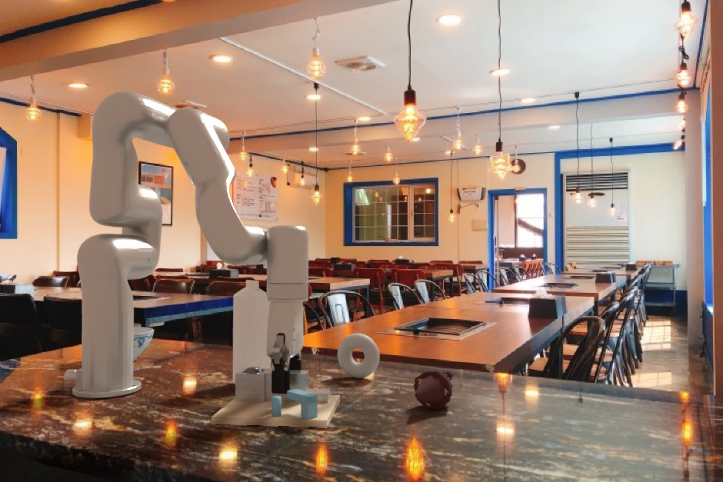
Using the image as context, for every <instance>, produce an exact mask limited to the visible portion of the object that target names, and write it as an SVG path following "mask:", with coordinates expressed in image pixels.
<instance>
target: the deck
mask: <svg viewBox="0 0 723 482" xmlns="http://www.w3.org/2000/svg"><path fill="white" fill-rule="evenodd" d="M340 402H341V395H340V394H339V395H338V394H330V400H329V402H328V403H321V402H317V417H315V418H311V419H305V418H302V417H301V402H284V401H281V416H279V417H272V416H271V415H272V401H265V402H264V403H260V402H235V397H234V398H233V399H232V400H230V401H229V402H228V403H226V404H225V405H224V406H223V407H222V408H220V409H219V410H218V411H217V412H216V413H214V414H213V415H211V419H210V421H211V425H216V424H226V425H225V426H247V425H260V426H259V427H278V426H289V428H309V427H318V428H317V429H327V428H328V427H329V424H330V422H331V421H332V419H333V416H334V414H335V412H336V410H337V408H338V406H339V405H340ZM227 424H228V425H227ZM229 424H230V425H229ZM261 425H262V426H261ZM327 426H328V427H327Z"/></svg>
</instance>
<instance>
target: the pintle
mask: <svg viewBox="0 0 723 482" xmlns="http://www.w3.org/2000/svg"><path fill="white" fill-rule="evenodd" d="M247 373H260V367H248V368H247Z"/></svg>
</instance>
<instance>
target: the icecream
mask: <svg viewBox="0 0 723 482" xmlns="http://www.w3.org/2000/svg"><path fill="white" fill-rule="evenodd" d="M453 377H454V372H452V371H451V370H445V371H443V372H440V371H437V370H425V371H424V372H422V373H421V374H420V375H418V376H416V377H415V378H414V383H413V389H414V398H415V399H416V400H417V402H418V403H420V404H421V405H422V406H423V407H424V408H426V409H430V410H438V411H439V410H442V409H443V408H444V407H445V406H446V405H448V403H450V401H451V397H452V396H453V383H452V382H451V381H452V379H453Z"/></svg>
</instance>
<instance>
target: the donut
mask: <svg viewBox="0 0 723 482" xmlns="http://www.w3.org/2000/svg"><path fill="white" fill-rule="evenodd" d="M337 347H338V349H337V354H336V357H337V361H338V364H339V366H340V368H341V369H342V370H343V372H344V373H345V374H346V375H348V376H349V377H351V378H355V379H363V378H364V379H365V378H368V377H369V376H371V375H372V374H374V372H375V371H376V370H377V369H378V366H379V364H380V357H381V356H380V355H381V354H380V349H379V347H378V346H377V343H376V342H375V341H374V340H373V338H371V337H370V336H369V335H366V334H364V333H360V332H359V333H351V334H349V335H348V336H347V335H346V336H345V337H344V338H343V339H342V341H340V343H339V346H337ZM355 349H359V350H360V351H362V352H363V355H364V359H363V361H361V362H357V361H356V360H355V359H354V357H353V352H354V350H355Z"/></svg>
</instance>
